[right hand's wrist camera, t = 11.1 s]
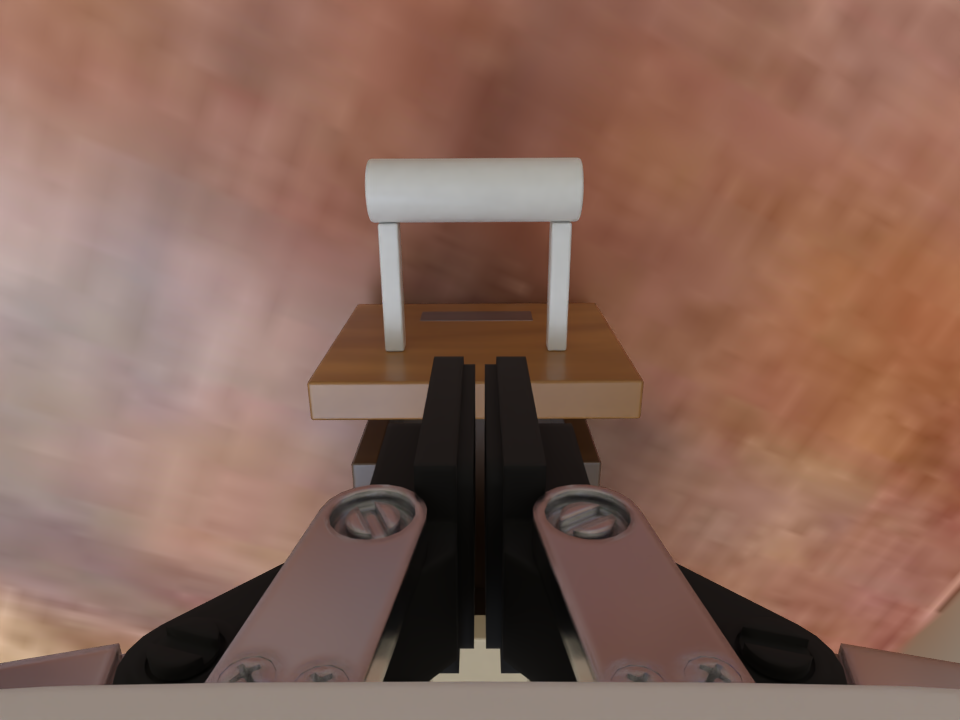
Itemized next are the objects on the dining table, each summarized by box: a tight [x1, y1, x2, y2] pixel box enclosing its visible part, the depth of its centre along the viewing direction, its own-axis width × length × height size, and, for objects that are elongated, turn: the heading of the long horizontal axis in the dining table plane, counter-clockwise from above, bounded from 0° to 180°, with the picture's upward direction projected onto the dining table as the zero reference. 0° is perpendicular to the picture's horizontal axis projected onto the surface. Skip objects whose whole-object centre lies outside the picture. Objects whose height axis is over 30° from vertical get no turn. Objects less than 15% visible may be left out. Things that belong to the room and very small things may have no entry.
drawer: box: [307, 158, 643, 615], centre depth 23 cm, size 20×9×8 cm, turn 0°
